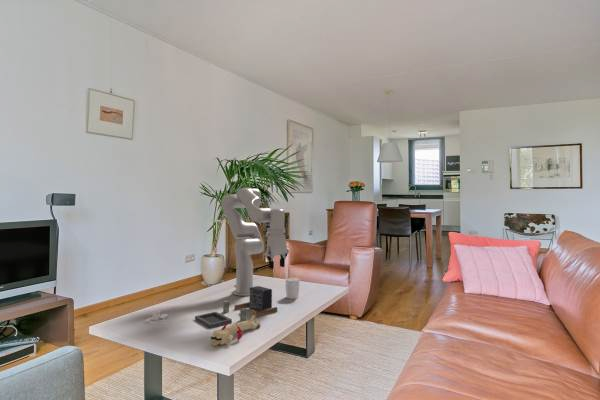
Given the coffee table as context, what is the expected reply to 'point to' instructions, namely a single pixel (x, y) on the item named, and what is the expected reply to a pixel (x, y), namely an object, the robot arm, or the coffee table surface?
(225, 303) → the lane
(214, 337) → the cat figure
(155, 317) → the teacup and saucer
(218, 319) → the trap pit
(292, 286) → the white cup
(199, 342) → the coffee table surface
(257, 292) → the small box
